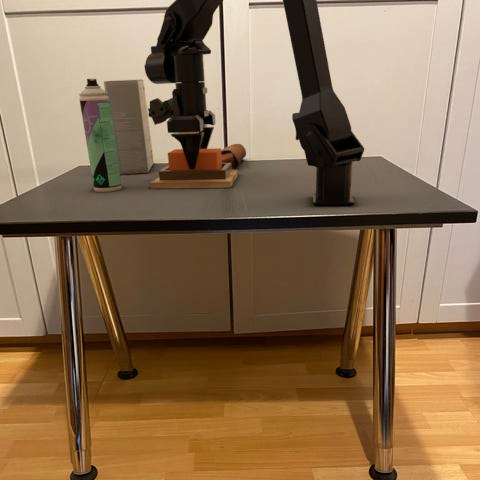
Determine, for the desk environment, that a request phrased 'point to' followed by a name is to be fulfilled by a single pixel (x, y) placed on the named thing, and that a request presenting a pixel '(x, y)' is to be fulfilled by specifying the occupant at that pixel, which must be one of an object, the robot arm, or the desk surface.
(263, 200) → the desk surface
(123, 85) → the hard drive box
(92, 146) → the spray can
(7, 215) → the desk surface
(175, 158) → the orange rectangular block
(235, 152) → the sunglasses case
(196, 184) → the wooden tray
